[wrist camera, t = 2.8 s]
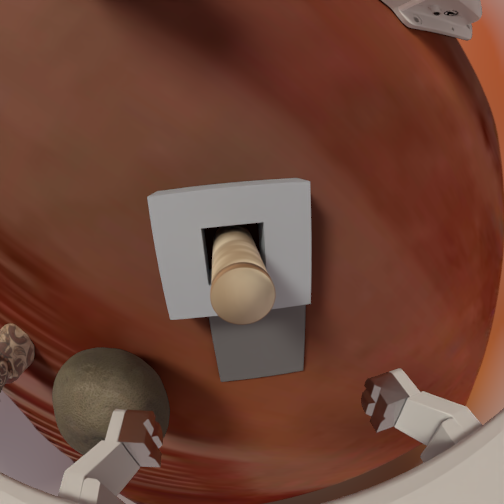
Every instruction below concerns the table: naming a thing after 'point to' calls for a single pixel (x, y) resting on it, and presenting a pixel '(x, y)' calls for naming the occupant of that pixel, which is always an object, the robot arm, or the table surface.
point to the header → (225, 214)
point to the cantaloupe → (104, 394)
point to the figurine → (14, 353)
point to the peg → (239, 277)
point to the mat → (260, 344)
